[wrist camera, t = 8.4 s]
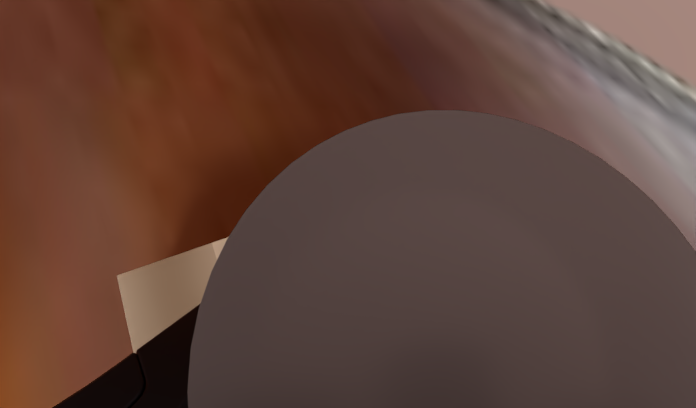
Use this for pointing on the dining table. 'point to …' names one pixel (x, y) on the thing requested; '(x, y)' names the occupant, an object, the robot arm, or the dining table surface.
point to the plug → (448, 279)
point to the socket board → (165, 291)
